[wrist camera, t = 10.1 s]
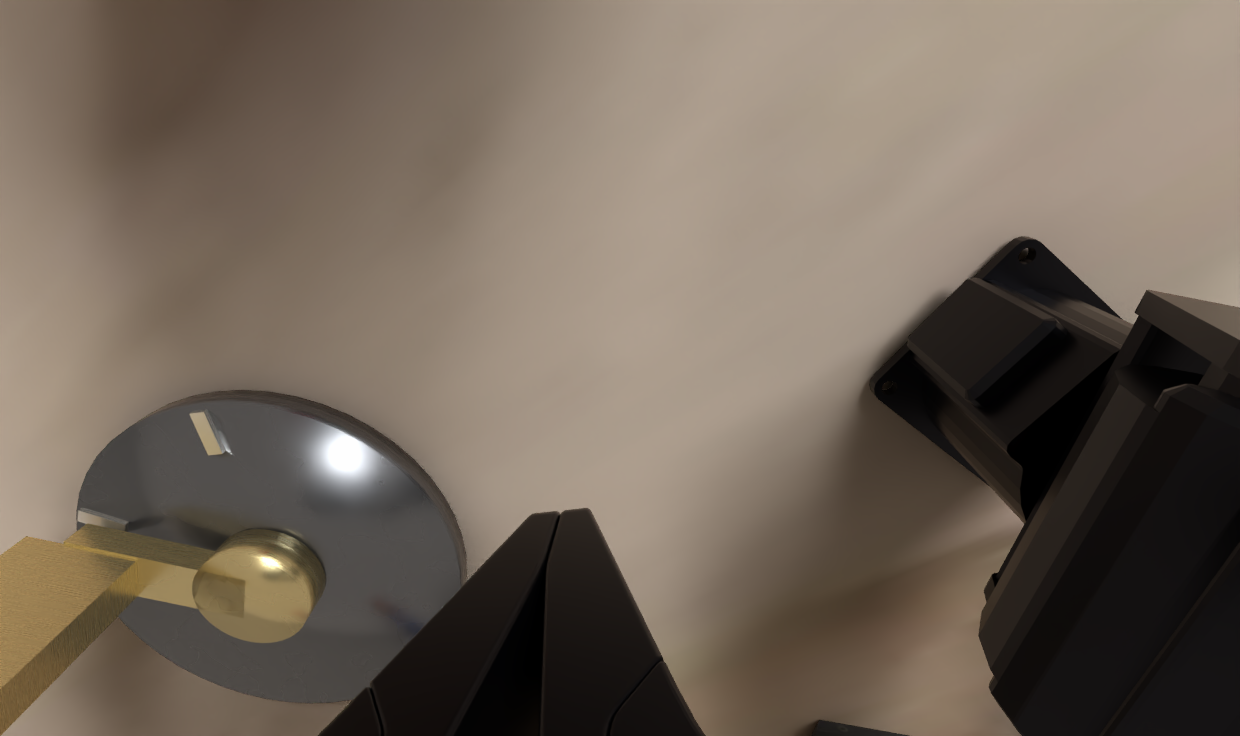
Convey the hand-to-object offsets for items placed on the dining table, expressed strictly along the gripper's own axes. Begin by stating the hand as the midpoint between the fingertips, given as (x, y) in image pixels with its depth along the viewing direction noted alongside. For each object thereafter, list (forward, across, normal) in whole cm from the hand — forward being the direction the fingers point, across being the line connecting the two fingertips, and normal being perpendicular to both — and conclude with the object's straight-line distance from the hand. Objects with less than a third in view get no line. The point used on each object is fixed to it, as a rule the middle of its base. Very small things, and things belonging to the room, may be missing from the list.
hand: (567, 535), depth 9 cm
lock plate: (+12, +14, +9) cm, 20 cm away
